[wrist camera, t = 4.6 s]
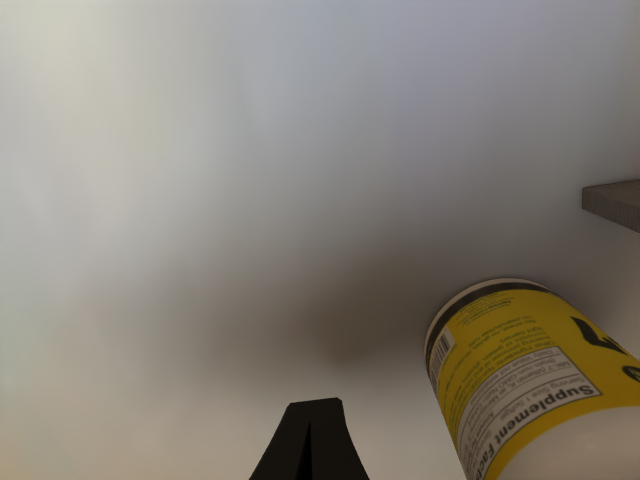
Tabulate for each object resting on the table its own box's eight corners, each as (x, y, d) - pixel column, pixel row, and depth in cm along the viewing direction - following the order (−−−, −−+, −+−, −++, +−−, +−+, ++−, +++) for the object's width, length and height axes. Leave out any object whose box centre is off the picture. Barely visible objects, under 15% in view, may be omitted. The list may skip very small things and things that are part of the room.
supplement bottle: (601, 355, 14) (996, 722, 6) (473, 429, 15) (652, 832, 7) (524, 242, 12) (878, 498, 4) (391, 330, 13) (487, 671, 5)
